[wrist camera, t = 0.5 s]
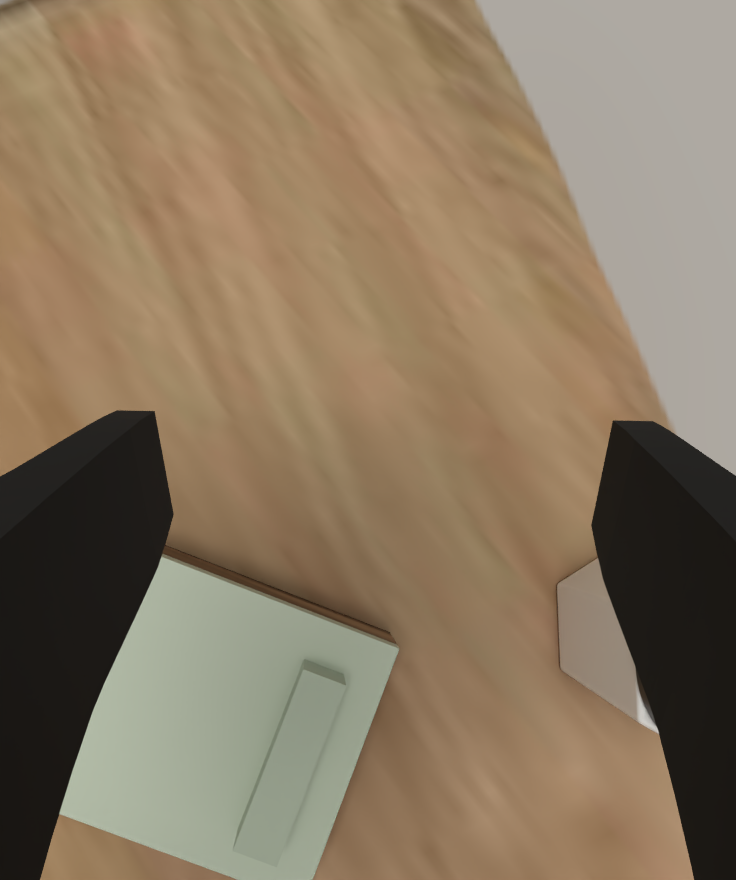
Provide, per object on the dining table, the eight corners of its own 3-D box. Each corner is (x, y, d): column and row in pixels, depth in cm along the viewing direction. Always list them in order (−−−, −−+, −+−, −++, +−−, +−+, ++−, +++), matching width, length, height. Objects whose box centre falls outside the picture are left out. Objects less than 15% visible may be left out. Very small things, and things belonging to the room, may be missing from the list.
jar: (654, 515, 39) (804, 521, 27) (732, 643, 39) (919, 706, 27) (519, 601, 38) (614, 647, 26) (598, 734, 38) (731, 841, 26)
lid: (303, 891, 33) (303, 930, 30) (-66, 755, 32) (-105, 781, 29) (396, 644, 34) (404, 658, 31) (43, 507, 33) (17, 508, 30)
